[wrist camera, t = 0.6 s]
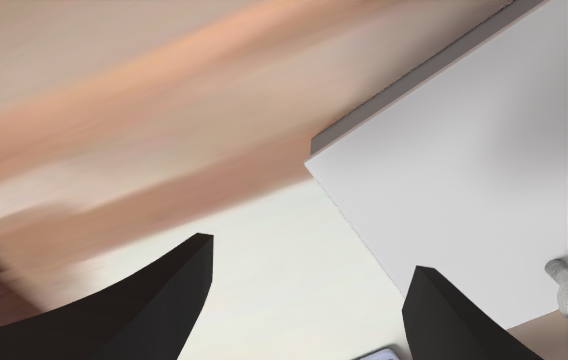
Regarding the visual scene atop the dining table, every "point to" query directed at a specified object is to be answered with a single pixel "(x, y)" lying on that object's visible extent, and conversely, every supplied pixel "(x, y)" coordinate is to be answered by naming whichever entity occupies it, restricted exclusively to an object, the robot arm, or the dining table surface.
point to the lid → (470, 173)
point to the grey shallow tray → (424, 71)
